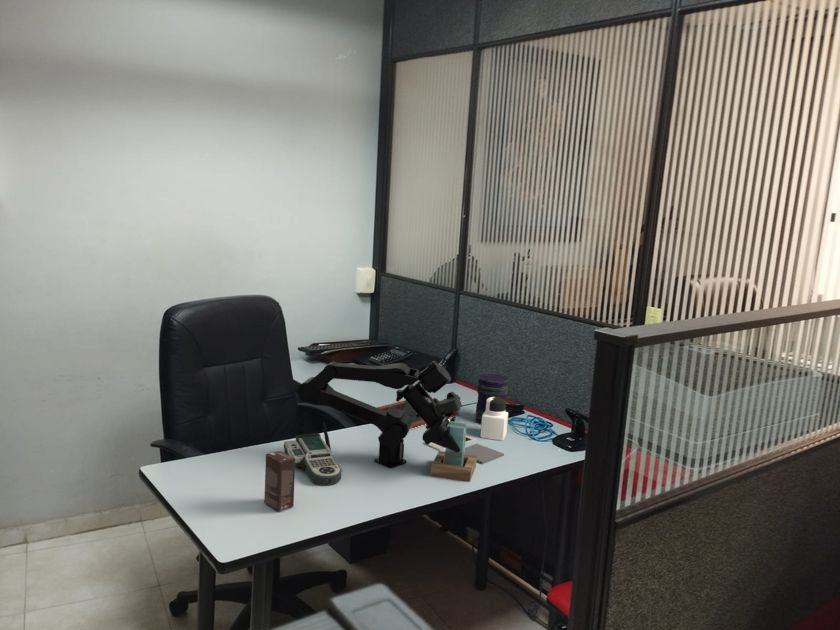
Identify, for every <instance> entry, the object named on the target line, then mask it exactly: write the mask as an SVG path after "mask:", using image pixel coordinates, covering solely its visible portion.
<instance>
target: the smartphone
mask: <svg viewBox="0 0 840 630" xmlns="http://www.w3.org/2000/svg"><path fill="white" fill-rule="evenodd" d="M474 440H475V441H476V438H474V437H473V436H470V435H467V434H466V440H465V444H467V442H469V443H472V442H475V441H474ZM471 441H472V442H471ZM423 444H424V445H425V444H426V443H425V442H424V441H423ZM428 445H429V446H428V447H430V446H431V447H430V448H432V447H433V449H434V448H436V449H435V450H437V449H438V450H437V451H439V450H442V451H445V450H444V449H446V447H444V446H442V445H439V444H437V443H434V442H433V443H432V442H431V443H430V444H428ZM425 446H427V444H426V445H425Z"/></svg>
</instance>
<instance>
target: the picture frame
mask: <svg viewBox="0 0 840 630" xmlns="http://www.w3.org/2000/svg"><path fill="white" fill-rule="evenodd" d="M391 406H394V407H396V408H397V409H399V410H405V413H406V414H408V415H409V416H410V418H411V420H412V427H411V428H414V429H416V428H415V427H417V428H419V427H418V426H421V425H424V426H426V425H425V422H424V421H423V420H422V419H421V418H420V417H419V418H417V417H416V416H415V415H416V414H417V413H416V412H415V410H414V409H413V408H412V407H411V406H410V405H409V403H408V402H407V401H406V400H405V399H404V400H400V401H398V402H397V401H396V402H393V403H389V404H385V405H382V406H377V407H376V408H379V409H381V410H389V409H390V407H391ZM456 415H457V416H459V411H457V412H456V413H455V414H454V415H453V414H452V415H451V416H450V417H451V418H453V417H452V416H456ZM457 416H456V417H457ZM421 427H422V426H421Z"/></svg>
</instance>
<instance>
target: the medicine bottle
mask: <svg viewBox="0 0 840 630" xmlns="http://www.w3.org/2000/svg"><path fill="white" fill-rule="evenodd" d="M505 410H507V400H506V401H505V400H504V399H503V398H500V397H490V398H488V399H487V401H486V410H485V412H484V414H483V415H482V423H481V424H480V438H481V437H482V438H483V439H488V440H489V439H490V440H494V441H495V440H496V441H501V442H502V441H504V440H505V437H506V436H507V430H508V421H509V412H507V411H506V412H505ZM482 438H481V439H482Z"/></svg>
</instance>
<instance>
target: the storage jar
mask: <svg viewBox="0 0 840 630" xmlns="http://www.w3.org/2000/svg"><path fill="white" fill-rule="evenodd" d="M477 381H478V382H477V390H476V392H477V403H476V406H475V420H476V421H475V422H476V423H477V424H478V423H479V425H481V423H482V415H483V414H484V412H485V410H486V401H487V399H488V398H490V397H500V398H503V399H504V400H505V401H506V402H507V396H508V390H509V387H508V386H509V383H508V382H509V378H508V377H507V376H505V375H501V374H495V373H484V374H480V375H478V380H477ZM506 410H507V409H506ZM506 410H505V412H507V411H506Z"/></svg>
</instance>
